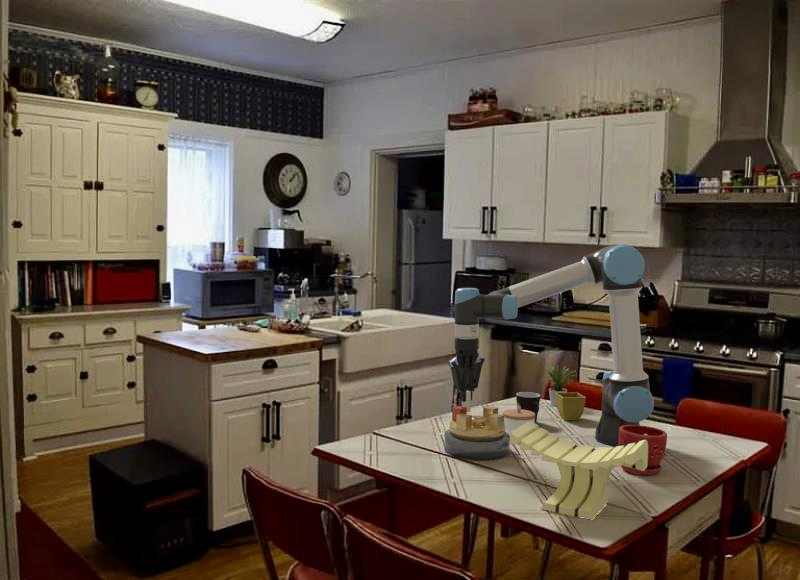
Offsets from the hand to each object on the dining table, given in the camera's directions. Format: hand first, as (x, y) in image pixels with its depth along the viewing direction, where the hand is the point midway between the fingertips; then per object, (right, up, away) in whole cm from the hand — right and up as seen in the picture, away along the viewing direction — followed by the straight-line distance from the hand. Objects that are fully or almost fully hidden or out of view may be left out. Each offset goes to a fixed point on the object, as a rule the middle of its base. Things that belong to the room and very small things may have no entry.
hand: (466, 411), depth 231 cm
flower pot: (+41, -9, +37) cm, 56 cm away
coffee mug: (+24, -9, +29) cm, 39 cm away
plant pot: (+48, -14, -21) cm, 55 cm away
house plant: (+41, -8, +57) cm, 71 cm away
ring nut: (+3, -6, -6) cm, 9 cm away
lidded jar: (+18, -11, +13) cm, 25 cm away
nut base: (+3, -11, -5) cm, 13 cm away
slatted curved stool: (+23, -15, -49) cm, 56 cm away
